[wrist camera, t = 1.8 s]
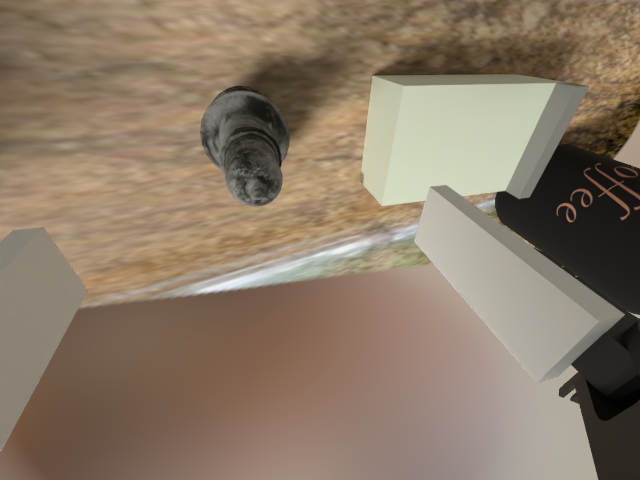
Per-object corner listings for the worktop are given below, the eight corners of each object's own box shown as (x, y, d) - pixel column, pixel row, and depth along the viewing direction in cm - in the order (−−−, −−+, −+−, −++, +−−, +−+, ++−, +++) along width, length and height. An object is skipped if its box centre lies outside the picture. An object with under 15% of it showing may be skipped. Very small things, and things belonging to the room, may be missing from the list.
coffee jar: (583, 126, 31) (873, 207, 17) (556, 203, 38) (747, 306, 24) (496, 161, 30) (719, 272, 17) (484, 232, 37) (636, 353, 24)
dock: (360, 180, 27) (390, 215, 22) (372, 75, 22) (416, 90, 17) (479, 169, 30) (529, 197, 25) (516, 74, 25) (589, 86, 20)
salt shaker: (215, 165, 23) (209, 259, 14) (192, 85, 19) (162, 139, 10) (286, 156, 24) (323, 236, 15) (276, 78, 20) (318, 121, 11)
